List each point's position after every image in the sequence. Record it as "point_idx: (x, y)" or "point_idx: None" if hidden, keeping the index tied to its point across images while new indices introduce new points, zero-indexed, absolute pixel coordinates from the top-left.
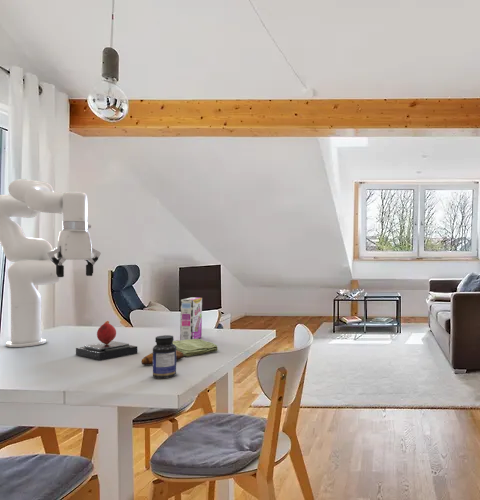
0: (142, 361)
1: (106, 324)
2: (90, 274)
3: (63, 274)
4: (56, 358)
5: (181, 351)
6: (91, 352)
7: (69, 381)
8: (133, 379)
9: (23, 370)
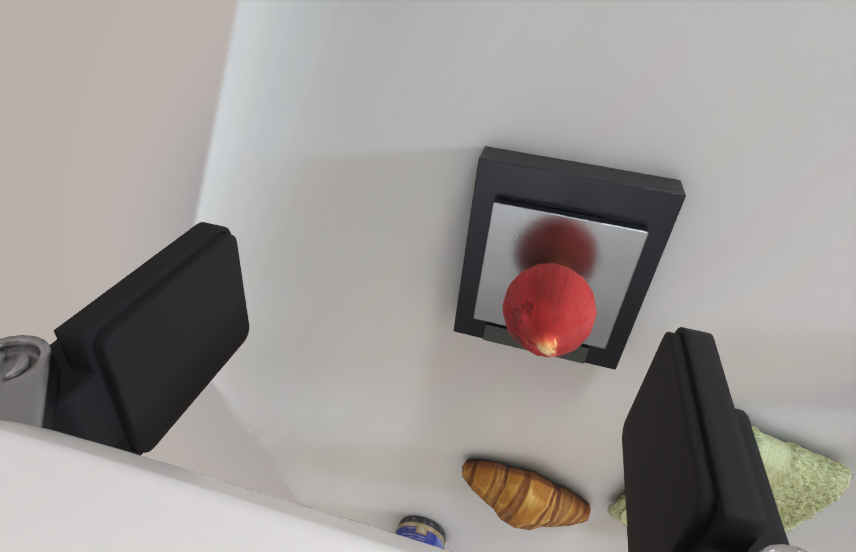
0: (462, 470)
1: (534, 349)
2: (625, 444)
3: (229, 353)
4: (402, 127)
5: (619, 503)
6: (461, 279)
7: (284, 401)
8: (372, 494)
9: (248, 204)
